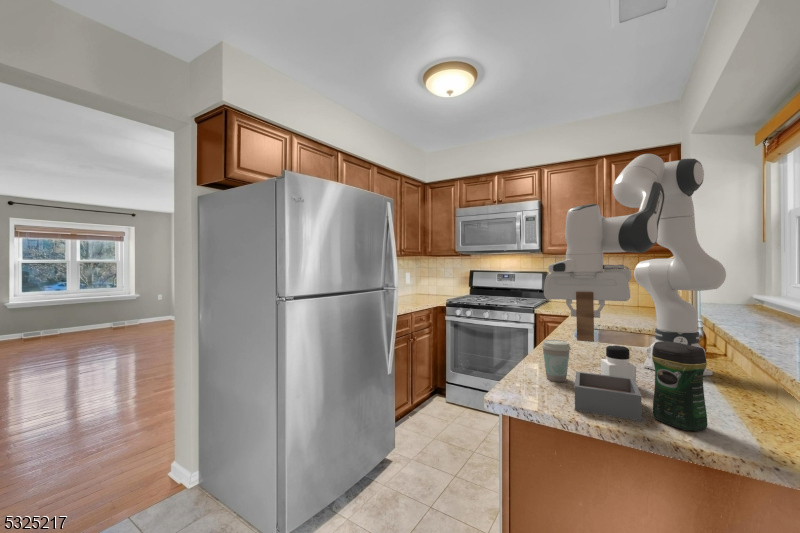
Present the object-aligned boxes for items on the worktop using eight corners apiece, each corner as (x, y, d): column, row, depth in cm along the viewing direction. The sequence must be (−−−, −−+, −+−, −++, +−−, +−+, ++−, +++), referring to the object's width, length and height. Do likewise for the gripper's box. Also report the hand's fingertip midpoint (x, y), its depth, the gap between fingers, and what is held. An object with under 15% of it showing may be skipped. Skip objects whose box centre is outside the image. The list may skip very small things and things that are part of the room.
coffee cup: (543, 381, 109) (542, 343, 109) (541, 373, 117) (541, 338, 117) (572, 384, 106) (572, 345, 106) (569, 376, 114) (568, 340, 114)
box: (576, 392, 100) (576, 371, 100) (634, 400, 93) (634, 378, 93) (574, 409, 88) (574, 386, 88) (641, 421, 81) (641, 395, 81)
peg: (577, 337, 95) (576, 290, 95) (594, 338, 93) (593, 290, 93) (576, 340, 92) (576, 291, 91) (594, 341, 90) (593, 292, 89)
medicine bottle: (636, 390, 101) (636, 349, 101) (609, 388, 103) (609, 348, 103) (625, 382, 108) (625, 344, 108) (600, 381, 110) (600, 343, 110)
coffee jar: (714, 429, 77) (714, 346, 77) (690, 435, 74) (689, 349, 74) (668, 412, 86) (668, 337, 86) (645, 416, 84) (645, 340, 84)
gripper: (629, 264, 90) (630, 317, 90) (545, 265, 100) (546, 313, 100) (632, 264, 84) (633, 321, 84) (542, 266, 94) (543, 316, 94)
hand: (585, 316), depth 92 cm, fingers closed on peg, 4 cm apart
